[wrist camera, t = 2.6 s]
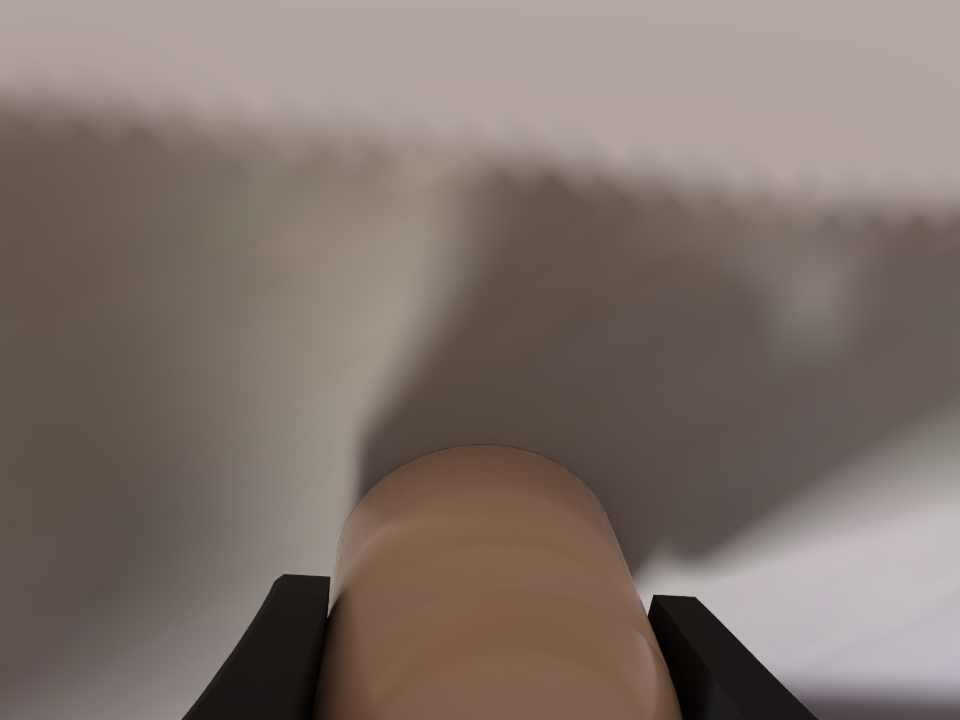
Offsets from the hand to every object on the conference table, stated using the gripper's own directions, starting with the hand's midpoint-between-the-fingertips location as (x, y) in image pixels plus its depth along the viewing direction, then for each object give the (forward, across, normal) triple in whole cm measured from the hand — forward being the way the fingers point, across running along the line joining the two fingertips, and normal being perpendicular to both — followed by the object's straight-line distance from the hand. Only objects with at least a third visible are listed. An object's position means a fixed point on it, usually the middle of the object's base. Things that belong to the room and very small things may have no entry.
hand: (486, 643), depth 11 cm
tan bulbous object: (+2, 0, 0) cm, 2 cm away
